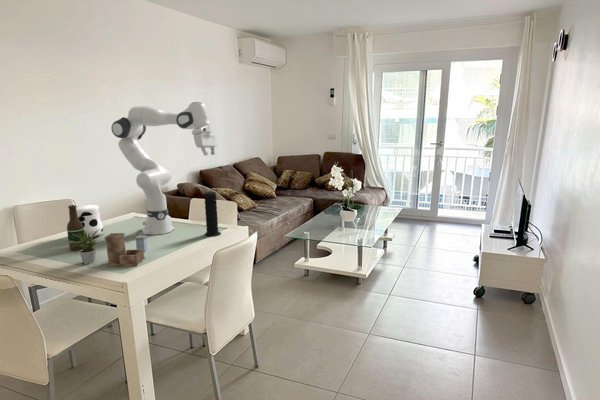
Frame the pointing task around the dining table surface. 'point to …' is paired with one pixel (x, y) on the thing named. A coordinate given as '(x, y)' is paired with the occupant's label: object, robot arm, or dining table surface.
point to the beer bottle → (74, 228)
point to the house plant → (86, 247)
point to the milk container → (90, 219)
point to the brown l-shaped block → (121, 251)
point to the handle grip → (211, 214)
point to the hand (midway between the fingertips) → (209, 155)
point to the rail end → (141, 243)
